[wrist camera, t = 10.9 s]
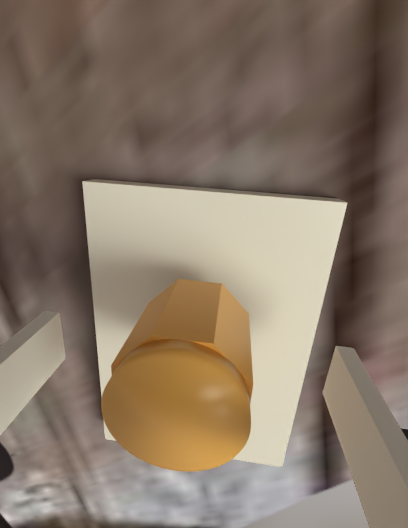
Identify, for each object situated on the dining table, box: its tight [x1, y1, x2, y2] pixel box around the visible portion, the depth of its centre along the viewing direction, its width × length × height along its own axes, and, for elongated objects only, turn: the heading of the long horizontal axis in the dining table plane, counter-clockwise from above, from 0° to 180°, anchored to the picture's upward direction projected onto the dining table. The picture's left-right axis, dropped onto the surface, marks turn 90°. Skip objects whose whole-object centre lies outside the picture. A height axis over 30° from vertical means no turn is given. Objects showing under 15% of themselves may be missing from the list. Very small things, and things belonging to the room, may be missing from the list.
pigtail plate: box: [82, 179, 347, 467], centre depth 16 cm, size 20×14×8 cm
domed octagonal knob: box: [101, 279, 253, 471], centre depth 13 cm, size 5×5×6 cm
